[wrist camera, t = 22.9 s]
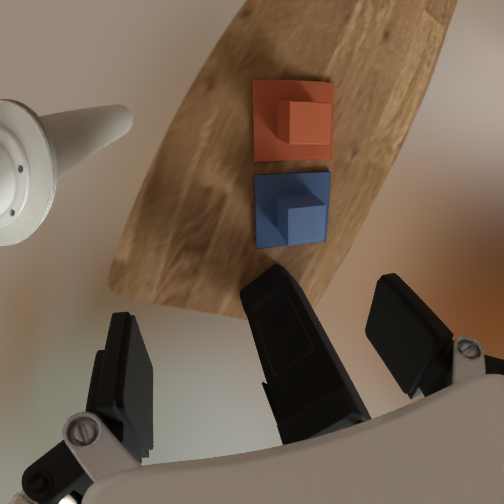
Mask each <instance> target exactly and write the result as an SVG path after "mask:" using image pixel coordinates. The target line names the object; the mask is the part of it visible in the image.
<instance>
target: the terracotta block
mask: <svg viewBox="0 0 504 504" xmlns="http://www.w3.org/2000/svg"><path fill="white" fill-rule="evenodd" d="M330 119H331V103H326V102H314V101H289V100H277V138H278V139H280V140H282V141H284V142H286V143H288V144H330Z"/></svg>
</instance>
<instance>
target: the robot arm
mask: <svg viewBox="0 0 504 504" xmlns="http://www.w3.org/2000/svg"><path fill="white" fill-rule="evenodd" d="M22 166H23V167H22ZM29 189H30V168H29V162H28V159H27V155H26V152H25V150H24V148H23V146H22V144H21V143H20V141H19V140H18V138H17V137H16V136H15V135H14V134H13V133H12V132H11V131H10V130H8V129H6V128H5V127H2V126H0V228H1V227H4V226H6V225H8V224H9V223H11V222H12V221H13V220H14V219H15V218H16V217H18V215H19V214H20V213H21V211H22V210H23V208H24V206H25V204H26V202H27V198H28V195H29ZM365 333H366V336H367V338H368V339H369V340H370V342H371V344H372V345H373V346H374V348H375V350H376V351H377V353H378V354H379V355H380V357H381V358H382V360H383V361H384V363H385V365H386V366H387V368H388V369H389V371H390V372H391V374H392V375H393V377H394V378H395V380H396V382H397V383H398V385H399V386H400V388H401V389H402V391H403V392H404V393H405V394H408V396H409V397H410V399H413V398H415V397H417V396H419V395H421V394H422V393H423V394H424V396H425V397H424V398H423V399H420V400H418V401H416V402H414V403H411V404H409V405H406V406H404V407H402V408H399V409H397V410H395V411H392V412H389V413H387V414H384V415H382V416H379V417H376V418H374V419H371V420H368V421H365V422H362V423H359V424H357V425H354V426H351V427H348V428H344V429H341V430H338V431H335V432H332V433H328V434H325V435H321V436H318V437H314V438H310V439H307V440H303V441H299V442H295V443H290V444H286V445H282V446H278V447H273V448H269V449H263V450H258V451H252V452H247V453H241V454H235V455H228V456H222V457H214V458H207V459H198V460H189V461H179V462H170V463H161V464H152V465H146V466H142V465H141V463H142V457H143V458H145V457H149V450H152V449H153V367H152V364H151V361H150V358H149V355H148V353H147V350H146V347H145V344H144V342H143V339H142V336H141V333H140V330H139V327H138V324H137V321H136V318H135V316H134V315H130V314H129V312H119V313H113V315H112V318H111V322H110V327H109V331H108V336H107V341H106V345H105V350H99V351H98V352H97V354H96V357H95V362H94V367H93V371H92V377H91V382H90V387H89V393H88V399H87V405H86V411H85V412H79V413H76V414H74V415H72V416H71V417H70V418H69V419H67V421H66V422H65V424H64V427H63V431H62V432H63V438H64V440H62V441H61V442H60V443H59V444H57V445H56V446H55V447H54V448H53V449H51V450H50V451H48V452H47V453H46V454H45V455H43V456H42V457H41V458H39V459H38V460H37V461H36V462H35V463H33V464H32V465H30V466H29V467H28V468H27V469H26V470H25V472H24V474H23V476H22V488H23V490H22V492H21V493H19V492H17V493H16V495H15V496H14V497H13V499H12V501H11V502H10V504H504V360H502V359H498V358H495V357H491V356H488V355H484V351H483V347H482V346H481V344H480V343H479V342H478V341H477V340H475V339H474V338H472V337H469V336H460V337H458V338H456V340H455V341H453V339H452V337H453V335H454V334H453V333H452V332H451V331H450V330H449V329H448V328H447V326H446V325H445V324H444V323H443V322H442V321H441V320H440V319H439V318H438V317H437V316H436V315H435V313H434V312H433V311H432V310H431V309H430V308H429V307H428V306H427V305H426V304H425V303H424V302H423V301H422V300H421V299H420V298H419V297H418V295H417V294H416V293H415V292H414V291H413V290H412V289H411V288H410V287H409V286H408V285H407V284H406V283H405V282H404V281H403V280H402V279H401V278H400V277H399V276H398V275H397V274H395V273H391V274H386V275H382V276H381V277H380V279H379V280H378V281H377V285H376V289H375V293H374V297H373V301H372V305H371V309H370V313H369V317H368V320H367V324H366V328H365Z"/></svg>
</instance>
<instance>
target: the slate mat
mask: <svg viewBox="0 0 504 504" xmlns="http://www.w3.org/2000/svg"><path fill="white" fill-rule="evenodd" d="M330 180H331V172H330V171H321V172H296V173H278V174H262V175H254V191H255V233H256V249H262V248H271V247H279V246H288V245H287V243H286V242H285V240H284V239H283V237H282V236H281V234H280V233H279V231H278V229H277V196H280V195H291V194H302V193H313V194H314V195H315V196H316V197H317V198H318V199H320V200H321V201H322V202H323V203H324V204H325V205H326V215H325V232H324V241H326V234H327V222H328V210H329V196H330ZM317 242H322V241H317ZM310 243H314V242H310ZM303 244H305V243H303ZM295 245H296V244H295Z"/></svg>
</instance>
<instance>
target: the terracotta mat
mask: <svg viewBox="0 0 504 504" xmlns="http://www.w3.org/2000/svg"><path fill="white" fill-rule="evenodd" d="M277 100H289V101H314V102H326V103H331V119H330V144H288V143H286V142H284V141H282V140H280V139H278V138H277ZM252 111H253V150H254V162H268V161H289V160H325V159H332V135H333V83H331V82H319V81H302V80H266V79H259V80H252Z"/></svg>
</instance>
